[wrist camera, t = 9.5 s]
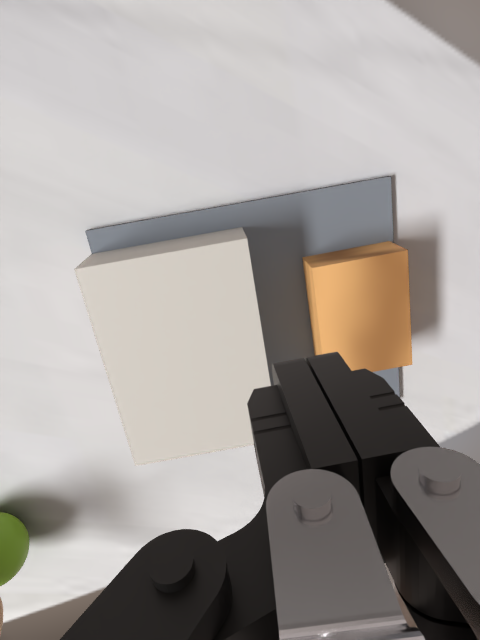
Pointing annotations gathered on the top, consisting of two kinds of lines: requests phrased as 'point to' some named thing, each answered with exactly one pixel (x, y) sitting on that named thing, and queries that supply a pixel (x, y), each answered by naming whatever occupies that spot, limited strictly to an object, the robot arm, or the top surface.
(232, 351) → the white rectangular block
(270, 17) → the top surface
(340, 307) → the orange flat block
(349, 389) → the robot arm
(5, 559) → the green maraca
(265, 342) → the mat
